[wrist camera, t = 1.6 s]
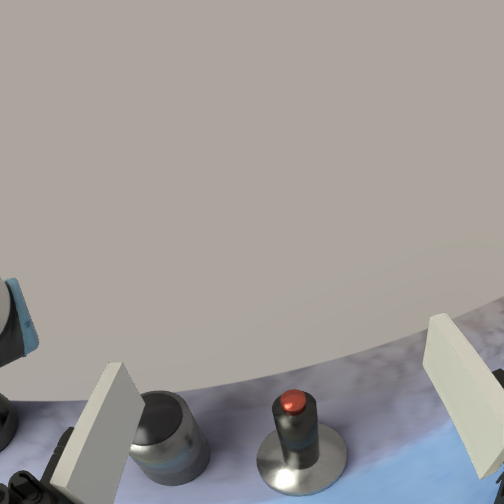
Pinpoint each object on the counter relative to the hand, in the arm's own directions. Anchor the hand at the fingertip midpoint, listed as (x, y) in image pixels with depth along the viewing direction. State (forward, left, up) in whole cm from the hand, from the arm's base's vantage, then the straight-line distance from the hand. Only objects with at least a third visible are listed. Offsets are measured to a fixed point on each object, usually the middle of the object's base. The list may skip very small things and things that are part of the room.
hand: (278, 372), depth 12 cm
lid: (-5, +8, -24) cm, 26 cm away
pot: (-19, +2, -24) cm, 31 cm away
